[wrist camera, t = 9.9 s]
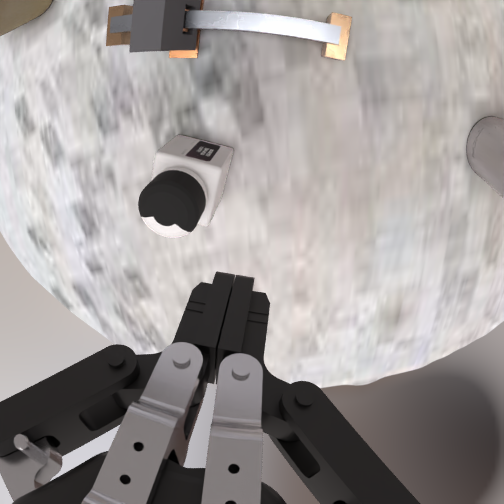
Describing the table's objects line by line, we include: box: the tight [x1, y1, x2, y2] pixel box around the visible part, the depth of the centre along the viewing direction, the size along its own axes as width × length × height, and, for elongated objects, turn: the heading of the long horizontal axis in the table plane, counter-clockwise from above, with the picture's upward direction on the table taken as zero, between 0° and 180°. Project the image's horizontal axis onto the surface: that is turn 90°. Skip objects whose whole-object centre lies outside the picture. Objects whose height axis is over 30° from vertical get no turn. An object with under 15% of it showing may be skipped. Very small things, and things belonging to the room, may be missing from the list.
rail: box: [106, 0, 352, 60], centre depth 26 cm, size 26×9×6 cm, turn 84°
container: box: [138, 135, 234, 238], centre depth 35 cm, size 8×8×13 cm
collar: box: [130, 0, 201, 52], centre depth 24 cm, size 3×7×10 cm, turn 174°
